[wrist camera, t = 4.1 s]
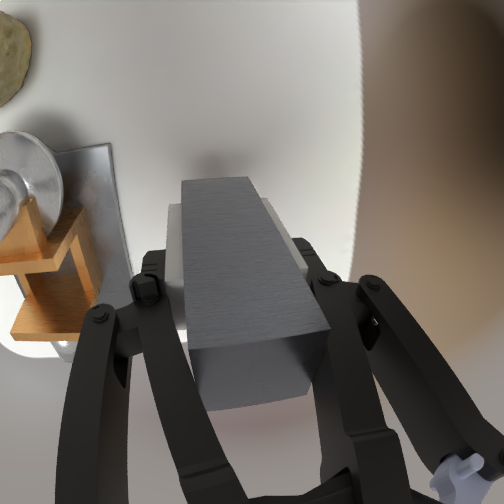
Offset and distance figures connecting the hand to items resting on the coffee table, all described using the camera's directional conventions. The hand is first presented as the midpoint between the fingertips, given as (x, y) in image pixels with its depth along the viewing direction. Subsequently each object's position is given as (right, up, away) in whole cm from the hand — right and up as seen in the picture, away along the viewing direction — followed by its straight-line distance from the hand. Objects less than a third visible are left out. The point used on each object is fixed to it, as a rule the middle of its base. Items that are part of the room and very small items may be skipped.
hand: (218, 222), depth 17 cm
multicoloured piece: (-17, +1, +7) cm, 18 cm away
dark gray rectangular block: (0, +1, +2) cm, 2 cm away
